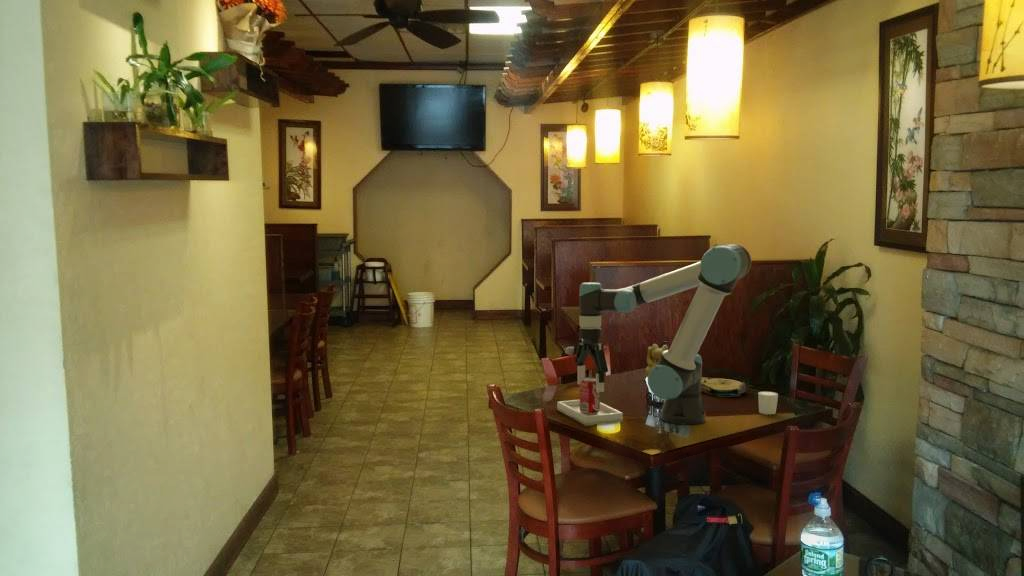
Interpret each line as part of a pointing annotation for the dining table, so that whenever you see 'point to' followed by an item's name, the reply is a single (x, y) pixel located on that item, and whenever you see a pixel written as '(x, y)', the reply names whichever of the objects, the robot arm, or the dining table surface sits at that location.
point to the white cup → (767, 402)
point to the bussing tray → (603, 416)
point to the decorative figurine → (654, 356)
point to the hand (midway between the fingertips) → (590, 387)
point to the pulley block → (722, 387)
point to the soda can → (589, 396)
